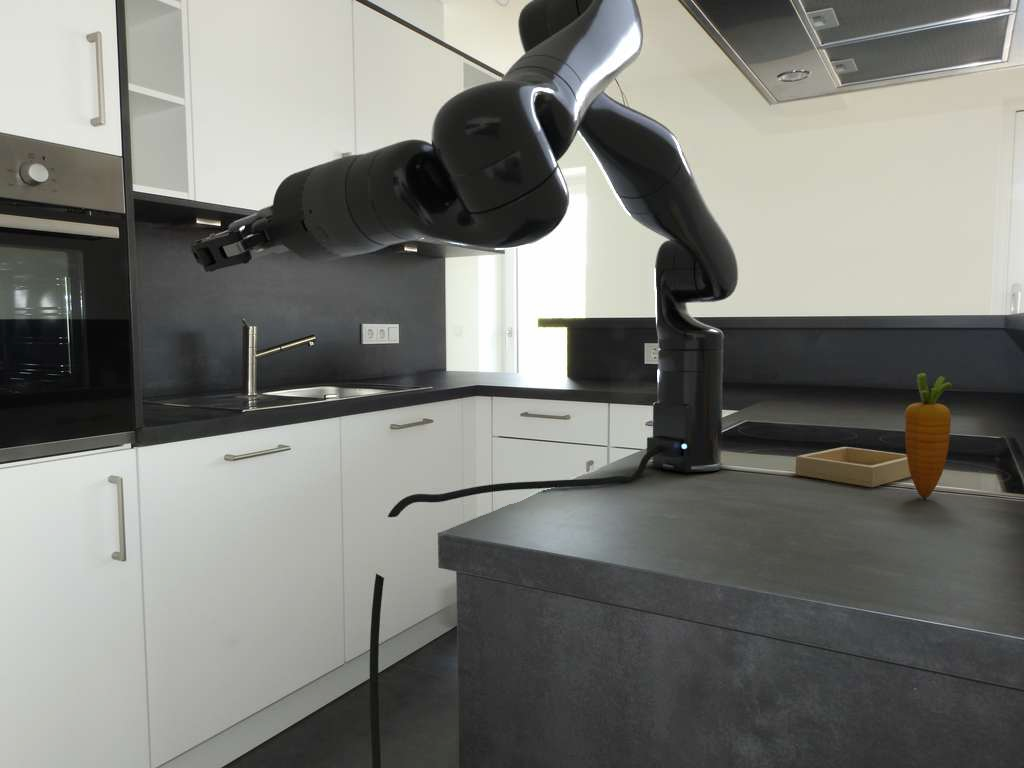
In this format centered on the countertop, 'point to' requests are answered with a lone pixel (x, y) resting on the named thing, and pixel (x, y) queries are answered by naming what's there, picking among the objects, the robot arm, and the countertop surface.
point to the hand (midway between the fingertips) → (236, 237)
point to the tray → (854, 466)
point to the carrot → (927, 436)
